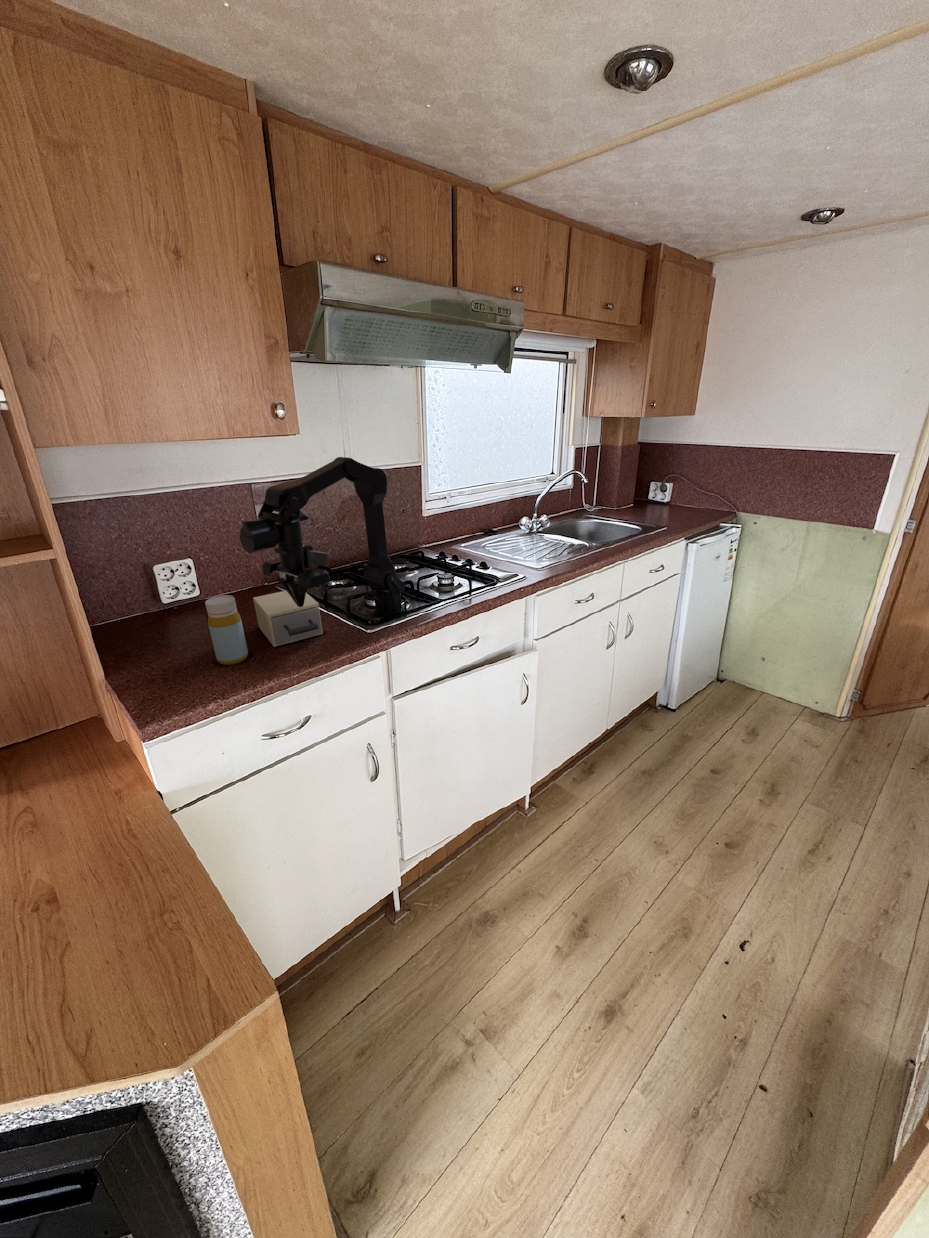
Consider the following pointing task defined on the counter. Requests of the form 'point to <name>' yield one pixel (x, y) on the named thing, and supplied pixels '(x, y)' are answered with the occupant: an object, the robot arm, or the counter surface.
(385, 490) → the robot arm
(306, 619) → the grey drawer with handle
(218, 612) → the bottle
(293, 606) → the small drawer cabinet
